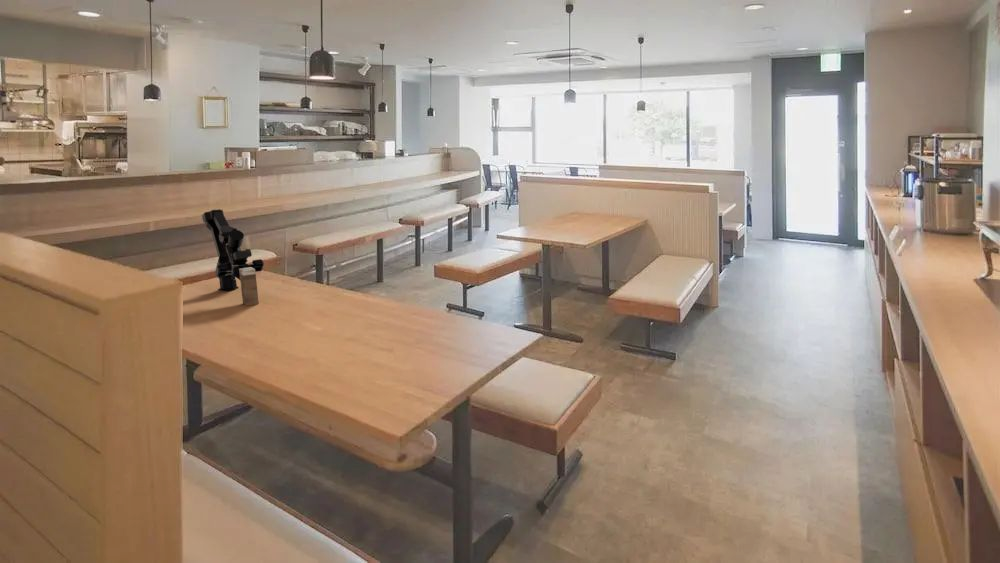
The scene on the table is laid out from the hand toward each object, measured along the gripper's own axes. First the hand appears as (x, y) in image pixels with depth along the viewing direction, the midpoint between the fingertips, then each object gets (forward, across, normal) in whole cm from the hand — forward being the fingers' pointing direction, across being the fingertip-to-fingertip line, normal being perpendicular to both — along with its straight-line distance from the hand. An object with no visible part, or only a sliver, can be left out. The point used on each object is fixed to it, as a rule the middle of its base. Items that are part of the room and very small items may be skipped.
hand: (245, 283), depth 265 cm
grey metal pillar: (+8, 0, +3) cm, 9 cm away
